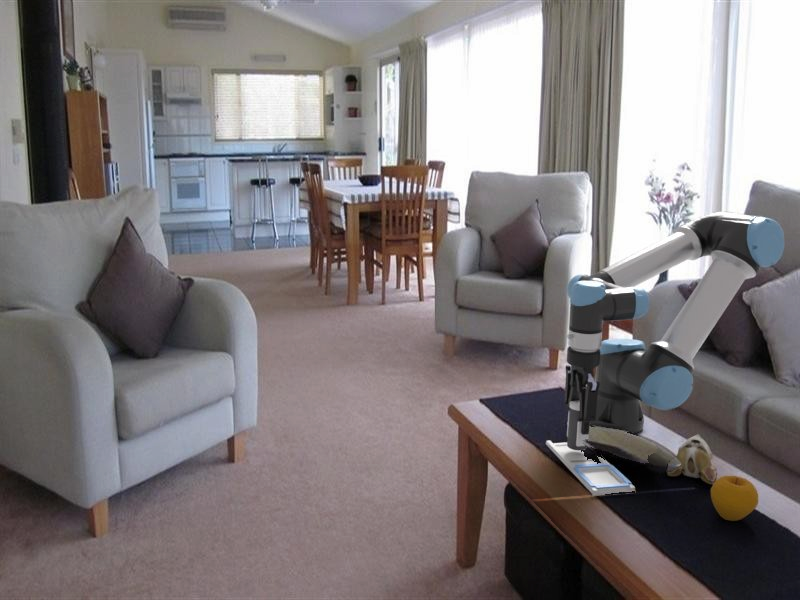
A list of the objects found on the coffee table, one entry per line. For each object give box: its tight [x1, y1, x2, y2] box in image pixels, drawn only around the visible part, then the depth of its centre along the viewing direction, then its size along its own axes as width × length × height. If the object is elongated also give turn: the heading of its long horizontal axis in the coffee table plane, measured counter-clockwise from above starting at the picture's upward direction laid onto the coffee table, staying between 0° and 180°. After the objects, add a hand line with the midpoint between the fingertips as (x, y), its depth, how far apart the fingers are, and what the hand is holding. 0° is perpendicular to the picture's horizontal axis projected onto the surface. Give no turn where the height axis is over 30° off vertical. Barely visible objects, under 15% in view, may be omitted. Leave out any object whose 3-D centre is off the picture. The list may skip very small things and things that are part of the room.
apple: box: [710, 475, 759, 522], centre depth 149 cm, size 9×9×9 cm
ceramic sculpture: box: [666, 433, 718, 485], centre depth 168 cm, size 11×9×15 cm
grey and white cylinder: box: [566, 400, 587, 450], centre depth 176 cm, size 5×5×11 cm
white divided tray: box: [545, 440, 636, 497], centre depth 171 cm, size 10×26×2 cm, turn 12°
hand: (577, 440), depth 177 cm, fingers closed on grey and white cylinder, 5 cm apart
